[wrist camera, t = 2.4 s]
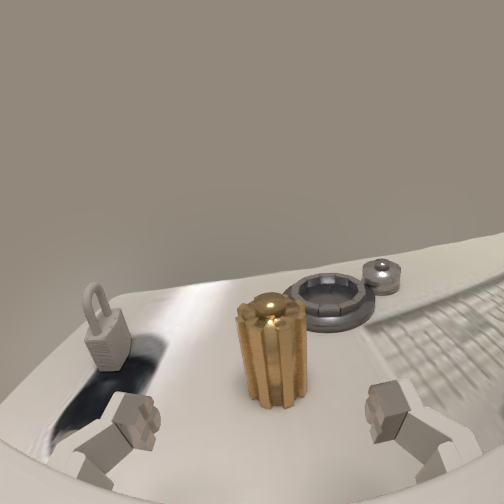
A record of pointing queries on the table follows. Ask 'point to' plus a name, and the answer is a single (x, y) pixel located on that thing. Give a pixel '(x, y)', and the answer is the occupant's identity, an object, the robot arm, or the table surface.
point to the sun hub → (381, 276)
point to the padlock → (105, 331)
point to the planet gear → (274, 348)
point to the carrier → (333, 301)
